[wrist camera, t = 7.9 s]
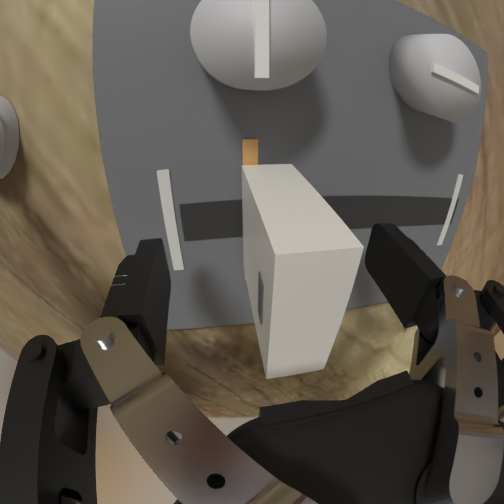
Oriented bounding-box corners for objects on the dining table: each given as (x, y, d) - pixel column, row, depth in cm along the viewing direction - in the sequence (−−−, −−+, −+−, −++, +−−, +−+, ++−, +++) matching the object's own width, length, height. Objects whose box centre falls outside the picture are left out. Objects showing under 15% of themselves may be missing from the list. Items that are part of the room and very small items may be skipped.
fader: (292, 163, 10) (366, 246, 6) (285, 264, 13) (325, 368, 8) (240, 165, 10) (272, 255, 5) (242, 267, 13) (264, 379, 8)
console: (470, 50, 9) (518, 59, 5) (420, 279, 19) (447, 314, 16) (107, -1, 6) (68, -26, 3) (154, 312, 16) (148, 365, 13)
